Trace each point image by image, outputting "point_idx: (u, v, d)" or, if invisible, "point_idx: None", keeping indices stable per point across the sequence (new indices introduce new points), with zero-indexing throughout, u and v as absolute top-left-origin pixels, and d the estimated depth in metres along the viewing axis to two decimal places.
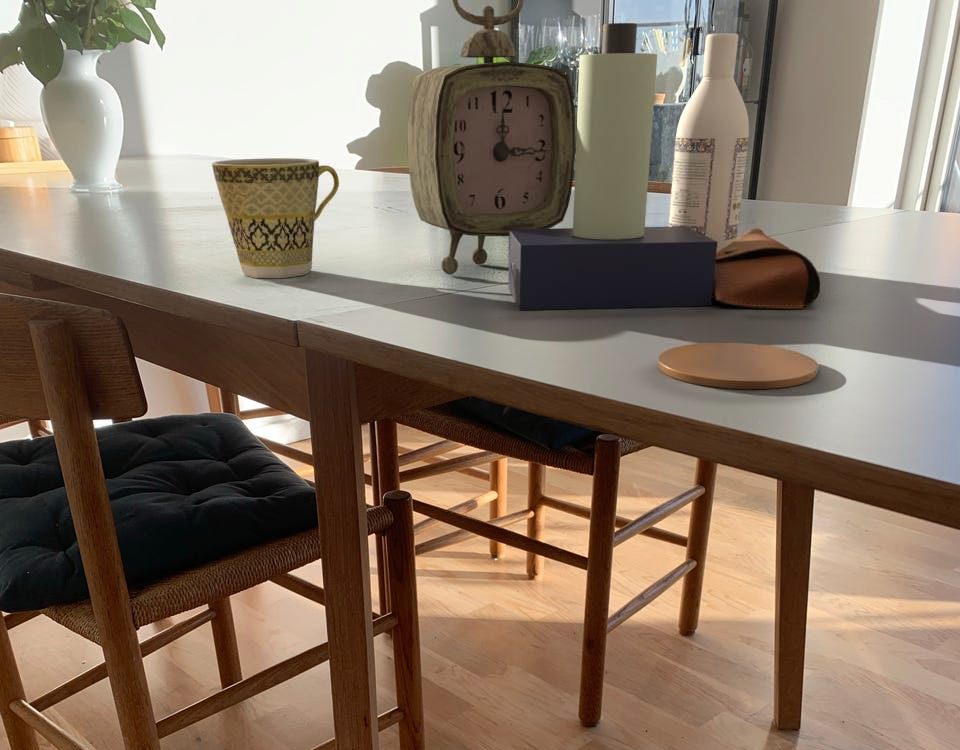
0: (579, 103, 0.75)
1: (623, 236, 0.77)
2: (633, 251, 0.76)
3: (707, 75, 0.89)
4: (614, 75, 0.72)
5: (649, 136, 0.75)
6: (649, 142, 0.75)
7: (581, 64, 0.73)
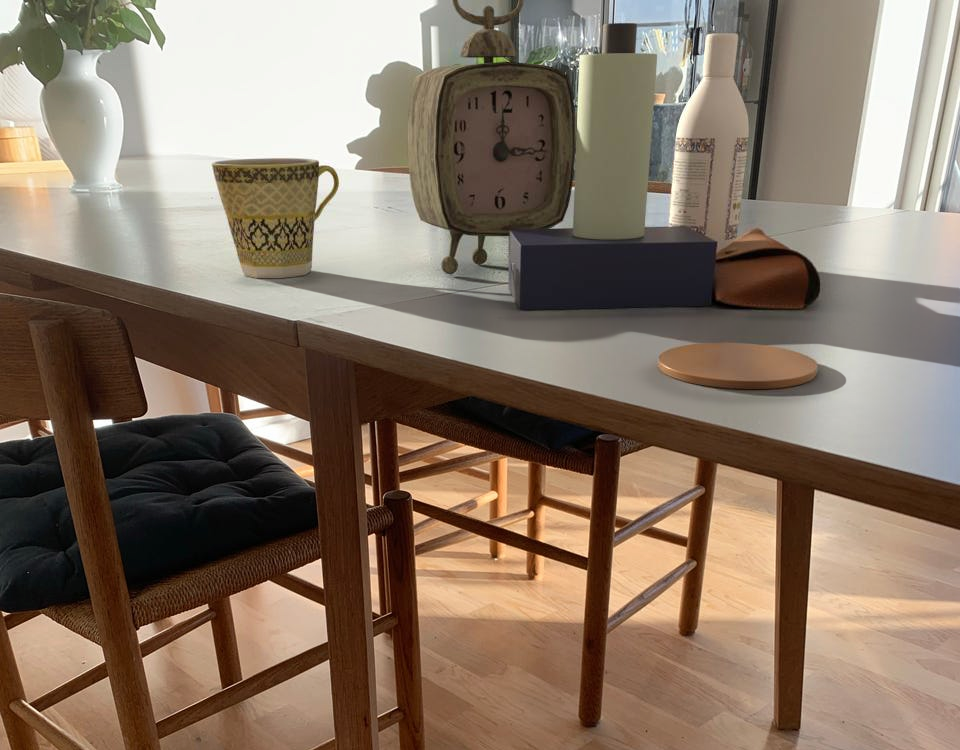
0: (579, 103, 0.75)
1: (623, 236, 0.77)
2: (633, 251, 0.76)
3: (707, 75, 0.89)
4: (614, 75, 0.72)
5: (649, 136, 0.75)
6: (649, 142, 0.75)
7: (581, 64, 0.73)
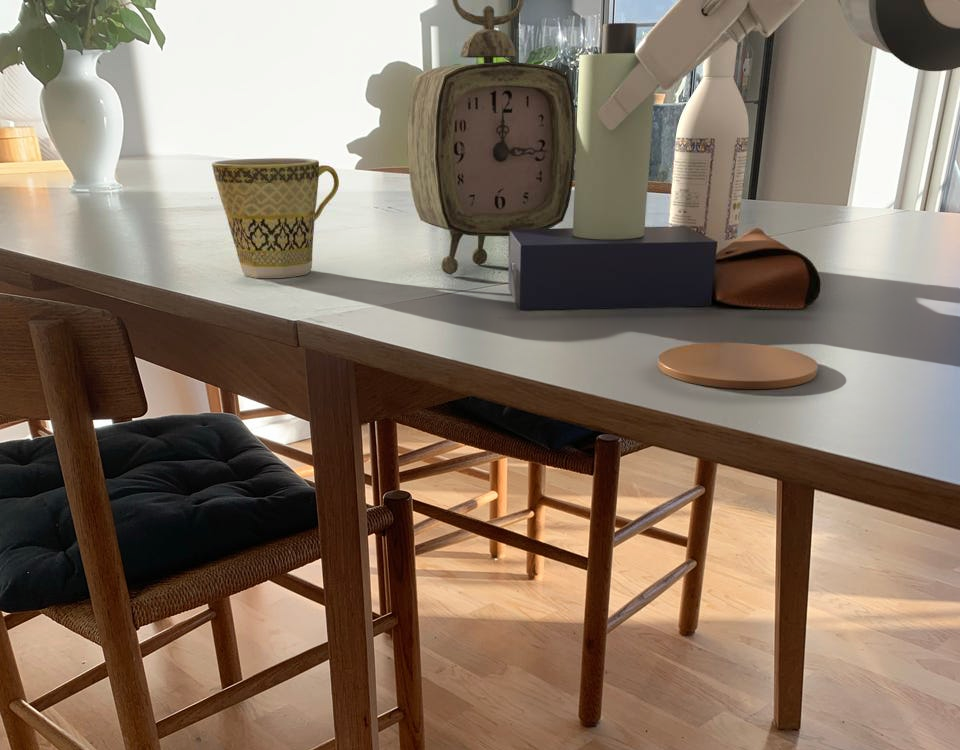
0: (579, 103, 0.75)
1: (623, 235, 0.77)
2: (633, 251, 0.76)
3: (707, 75, 0.89)
4: (614, 75, 0.72)
5: (649, 136, 0.75)
6: (649, 142, 0.75)
7: (581, 64, 0.73)
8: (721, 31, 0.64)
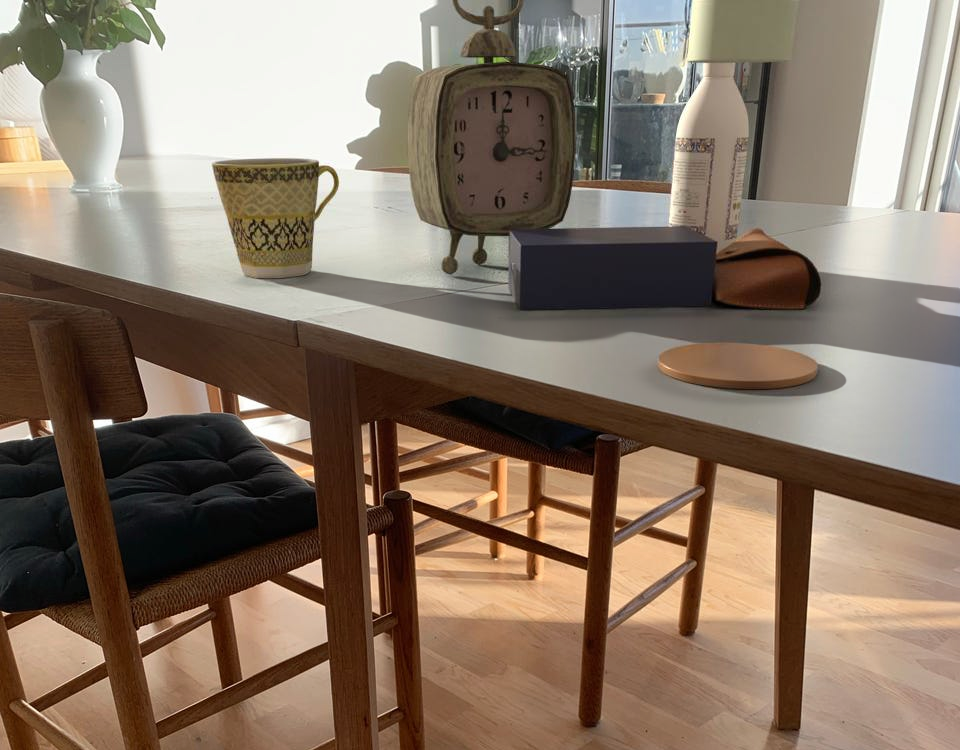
0: None
1: (766, 54, 0.54)
2: (633, 251, 0.76)
3: (707, 75, 0.89)
4: None
5: None
6: None
7: None
8: None
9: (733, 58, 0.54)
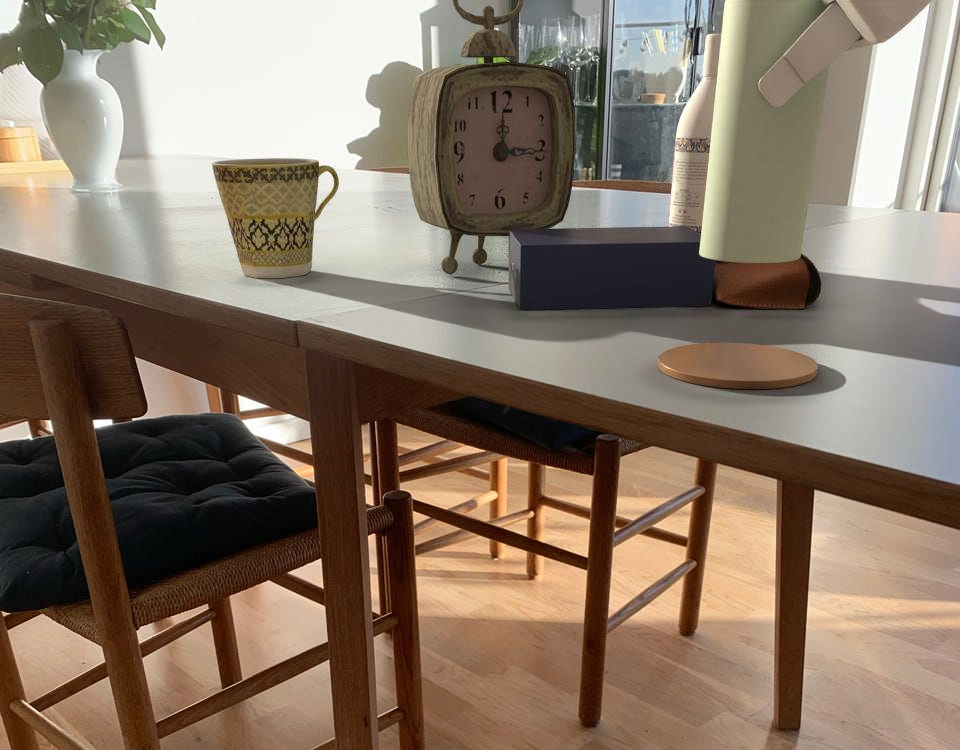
0: (722, 69, 0.52)
1: (777, 257, 0.55)
2: (633, 251, 0.76)
3: (707, 75, 0.89)
4: (782, 27, 0.49)
5: (821, 117, 0.53)
6: (820, 125, 0.53)
7: (729, 12, 0.51)
8: None
9: (745, 261, 0.55)
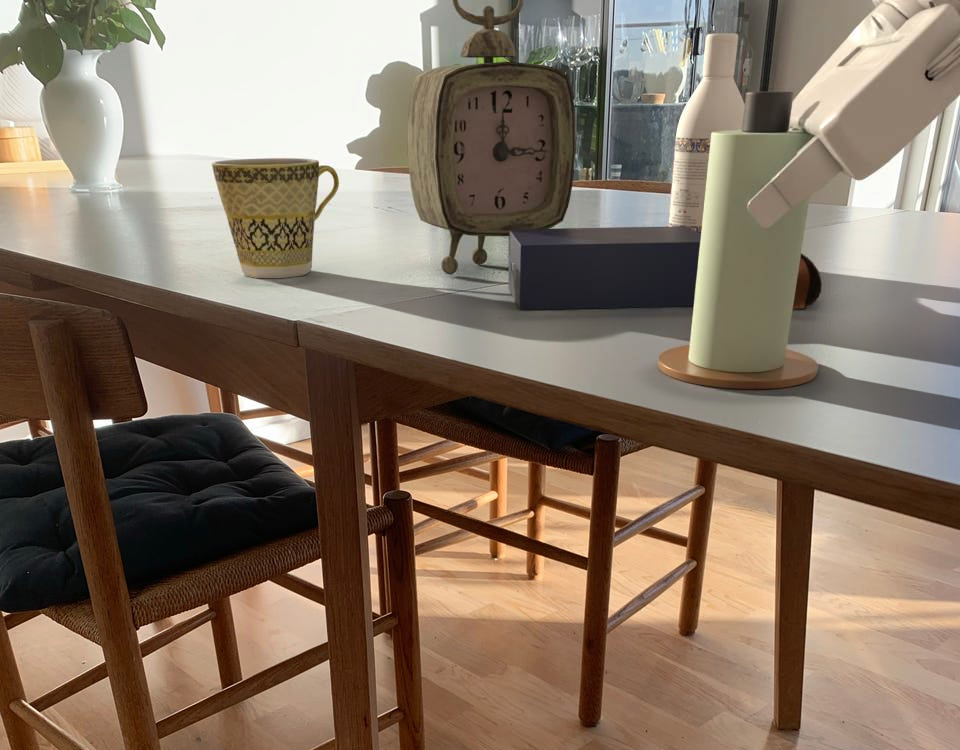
0: (709, 196, 0.55)
1: (761, 367, 0.58)
2: (633, 251, 0.76)
3: (707, 75, 0.89)
4: (764, 163, 0.52)
5: (802, 239, 0.56)
6: (801, 247, 0.56)
7: (715, 145, 0.54)
8: (950, 102, 0.44)
9: (731, 371, 0.58)
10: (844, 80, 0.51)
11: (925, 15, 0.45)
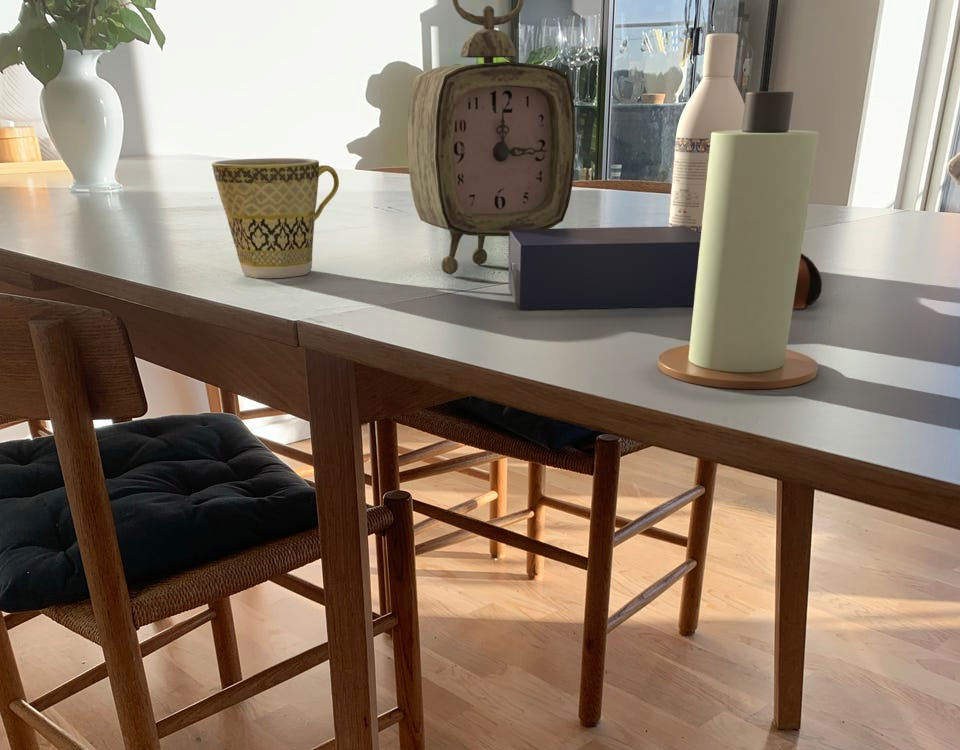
0: (709, 196, 0.55)
1: (761, 367, 0.58)
2: (633, 251, 0.76)
3: (707, 75, 0.89)
4: (764, 163, 0.52)
5: (802, 239, 0.56)
6: (801, 247, 0.56)
7: (715, 145, 0.54)
8: None
9: (731, 371, 0.58)
10: None
11: None
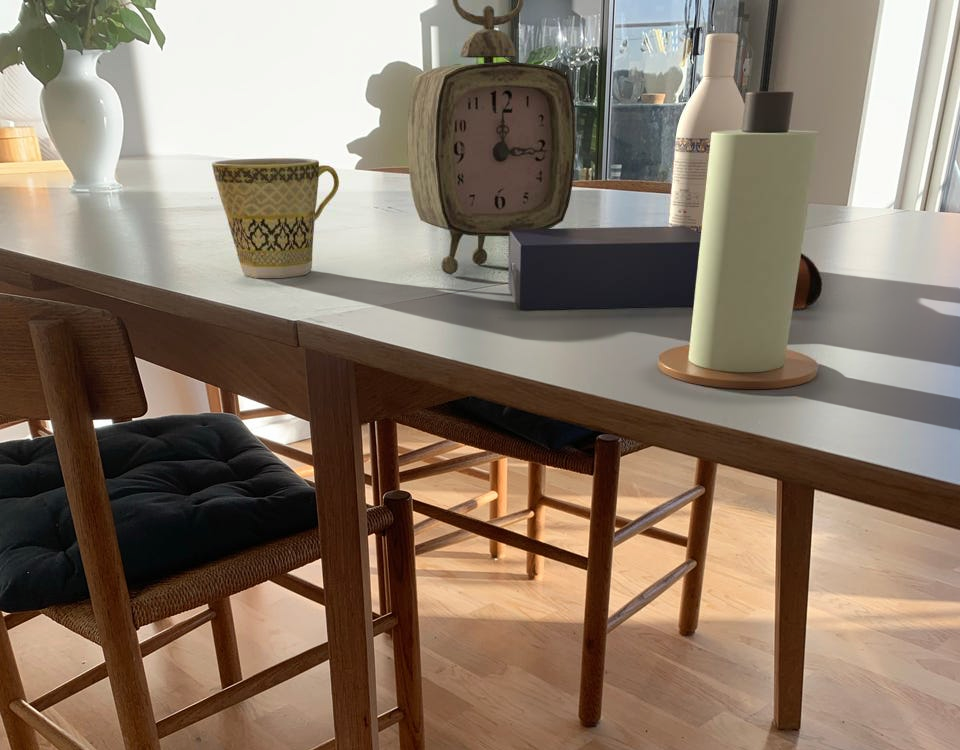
0: (709, 196, 0.55)
1: (761, 367, 0.58)
2: (633, 251, 0.76)
3: (707, 75, 0.89)
4: (764, 163, 0.52)
5: (802, 239, 0.56)
6: (801, 247, 0.56)
7: (715, 145, 0.54)
8: None
9: (731, 371, 0.58)
10: None
11: None
